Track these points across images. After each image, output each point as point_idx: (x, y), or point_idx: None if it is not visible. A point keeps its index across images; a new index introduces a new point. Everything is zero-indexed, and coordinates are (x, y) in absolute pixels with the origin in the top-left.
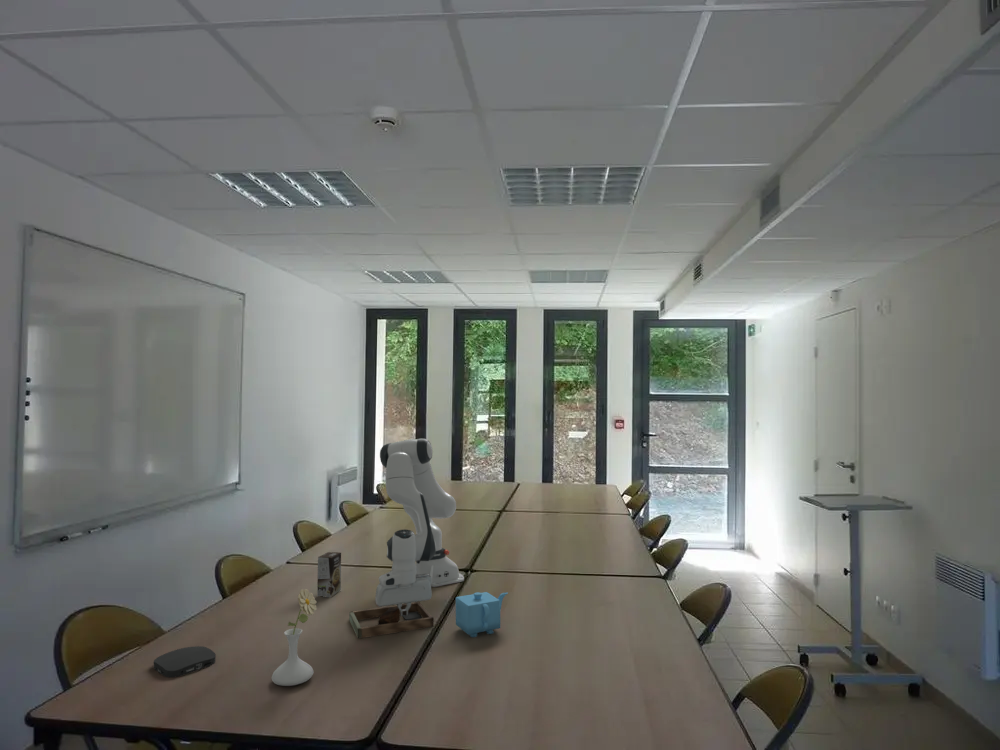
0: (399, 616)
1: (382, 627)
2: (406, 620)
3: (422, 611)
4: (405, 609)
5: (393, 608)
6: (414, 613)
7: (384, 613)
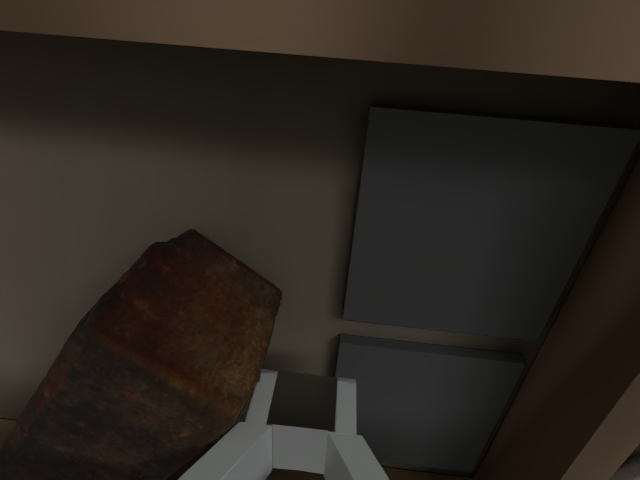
0: (270, 320)
1: None
2: (341, 346)
3: (592, 381)
4: (326, 451)
5: (135, 411)
6: (547, 198)
7: (11, 473)
